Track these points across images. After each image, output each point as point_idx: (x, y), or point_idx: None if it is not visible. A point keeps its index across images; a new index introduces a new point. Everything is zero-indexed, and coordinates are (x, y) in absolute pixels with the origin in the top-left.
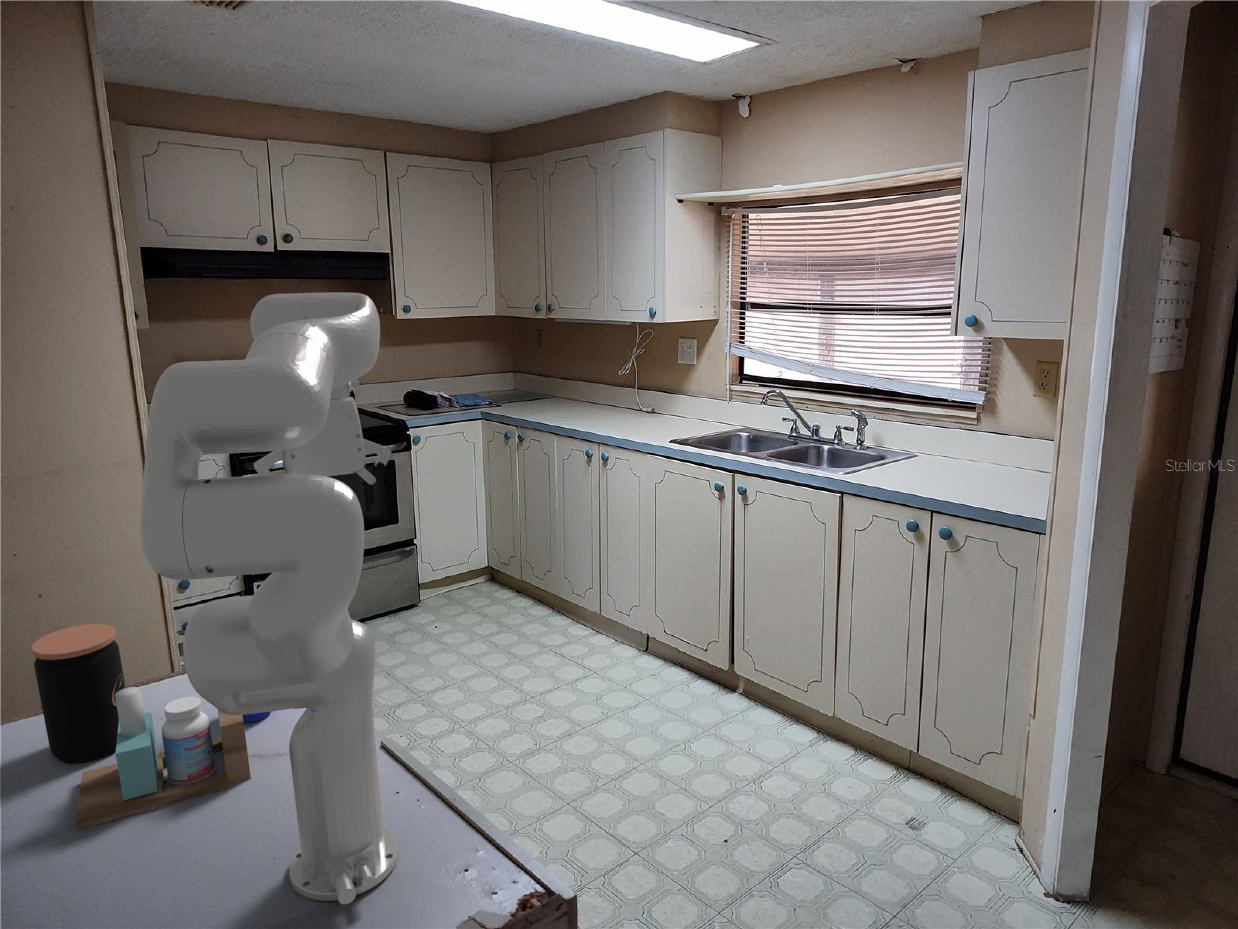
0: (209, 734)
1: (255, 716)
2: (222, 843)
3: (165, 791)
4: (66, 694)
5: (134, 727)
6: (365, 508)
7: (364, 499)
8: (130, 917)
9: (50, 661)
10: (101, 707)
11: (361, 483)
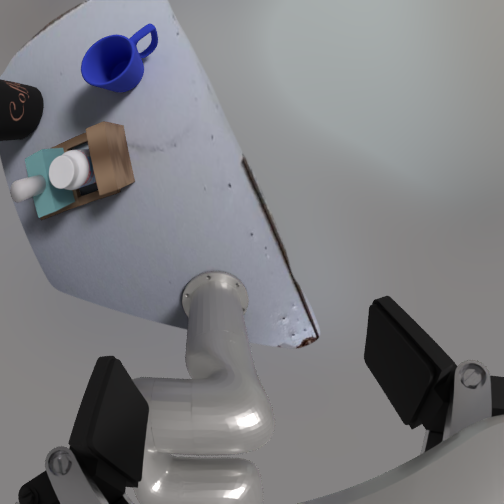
0: (92, 170)
1: (128, 90)
2: (132, 258)
3: (80, 200)
4: None
5: (37, 194)
6: (370, 369)
7: (385, 387)
8: (105, 306)
9: None
10: (12, 129)
11: (426, 393)
